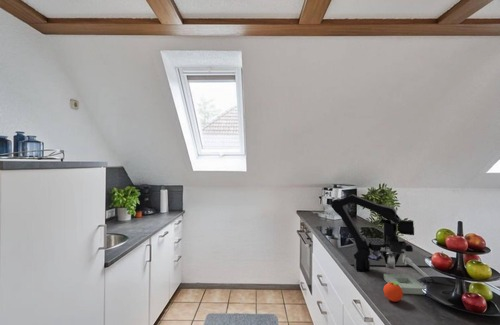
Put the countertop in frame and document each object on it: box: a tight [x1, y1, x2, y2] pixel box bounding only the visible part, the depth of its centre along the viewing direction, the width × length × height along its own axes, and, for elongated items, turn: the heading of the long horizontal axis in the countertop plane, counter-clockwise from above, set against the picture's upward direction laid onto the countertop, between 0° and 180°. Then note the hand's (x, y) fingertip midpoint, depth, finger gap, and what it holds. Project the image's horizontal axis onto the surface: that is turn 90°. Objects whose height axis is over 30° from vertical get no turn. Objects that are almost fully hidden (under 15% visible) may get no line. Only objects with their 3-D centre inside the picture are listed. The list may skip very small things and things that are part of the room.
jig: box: [383, 273, 428, 295], centre depth 117 cm, size 12×14×2 cm
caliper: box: [402, 252, 430, 278], centre depth 134 cm, size 20×1×6 cm, turn 1°
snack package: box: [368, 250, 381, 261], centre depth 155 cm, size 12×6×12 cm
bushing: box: [385, 251, 396, 270], centre depth 129 cm, size 4×4×7 cm
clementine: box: [383, 282, 404, 303], centre depth 105 cm, size 8×7×7 cm
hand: (390, 264), depth 129 cm, fingers closed on bushing, 4 cm apart
